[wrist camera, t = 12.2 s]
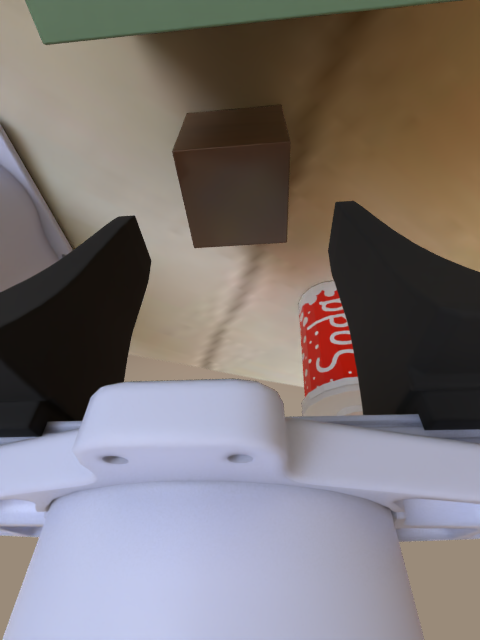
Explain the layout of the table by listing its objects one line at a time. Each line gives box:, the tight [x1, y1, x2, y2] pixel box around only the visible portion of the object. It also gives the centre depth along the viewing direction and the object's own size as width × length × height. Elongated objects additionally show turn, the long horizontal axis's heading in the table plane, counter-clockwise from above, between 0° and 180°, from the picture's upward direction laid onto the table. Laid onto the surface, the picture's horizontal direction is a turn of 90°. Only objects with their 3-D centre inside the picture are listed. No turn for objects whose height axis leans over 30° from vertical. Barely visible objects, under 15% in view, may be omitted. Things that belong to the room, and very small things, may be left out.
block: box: [172, 105, 290, 248], centre depth 15 cm, size 4×4×4 cm
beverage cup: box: [299, 281, 363, 416], centre depth 19 cm, size 6×6×14 cm
